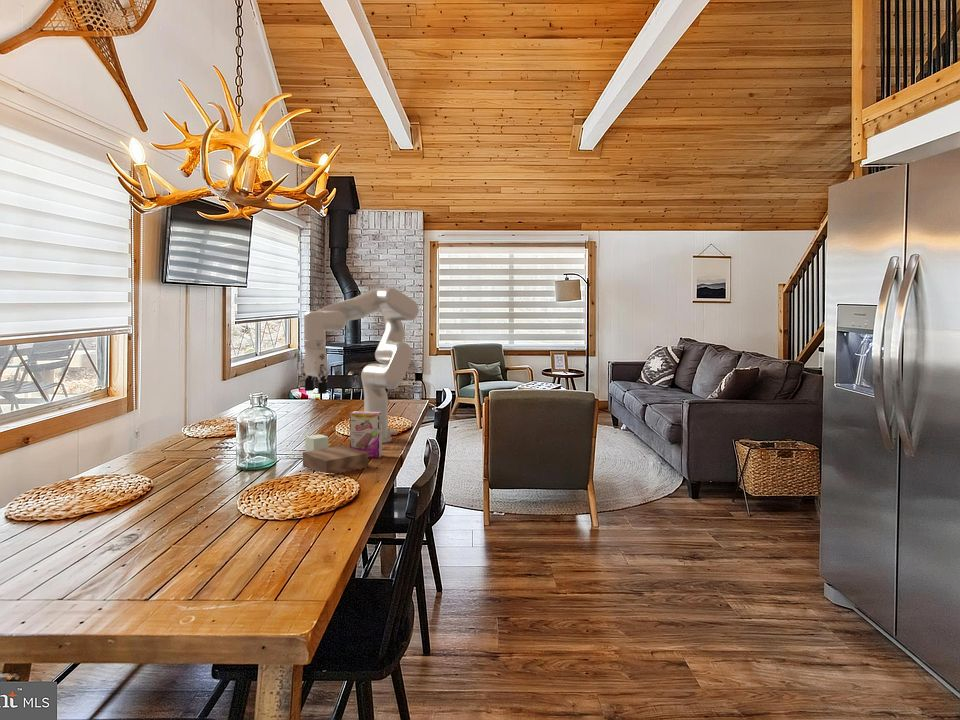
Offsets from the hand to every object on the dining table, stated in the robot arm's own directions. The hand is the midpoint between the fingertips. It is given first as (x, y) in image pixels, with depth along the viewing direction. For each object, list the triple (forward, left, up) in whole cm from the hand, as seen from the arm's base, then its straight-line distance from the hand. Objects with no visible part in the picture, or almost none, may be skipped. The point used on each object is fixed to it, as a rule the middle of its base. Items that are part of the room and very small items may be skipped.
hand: (315, 391), depth 231 cm
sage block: (0, 0, -24) cm, 24 cm away
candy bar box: (-13, +14, -24) cm, 30 cm away
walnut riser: (+4, +20, -24) cm, 31 cm away
